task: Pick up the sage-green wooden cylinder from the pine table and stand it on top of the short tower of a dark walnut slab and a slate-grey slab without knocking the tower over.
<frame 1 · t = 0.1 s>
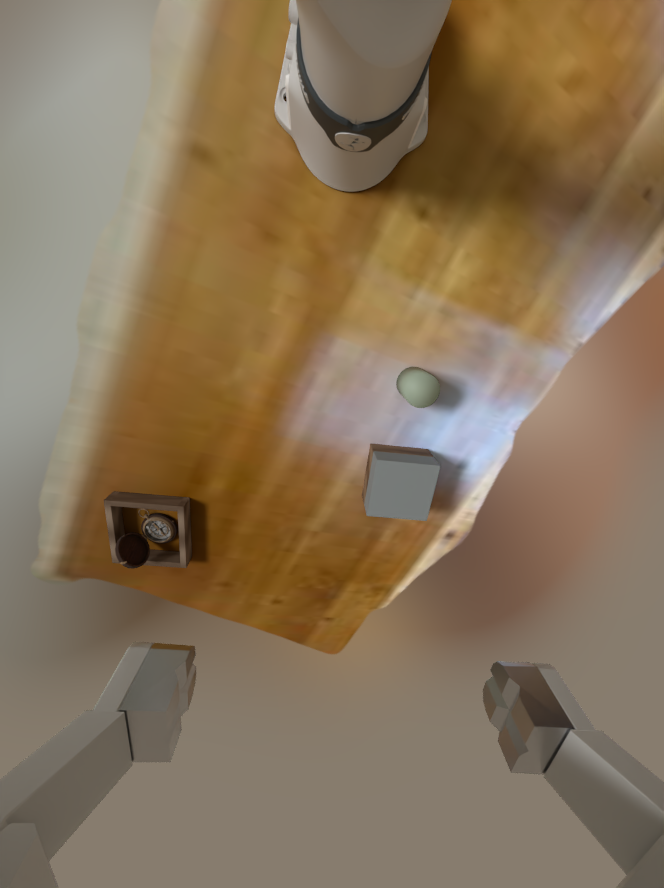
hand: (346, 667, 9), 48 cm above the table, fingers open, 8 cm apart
wooden frame: (154, 525, 63), on the table
green cylinder: (412, 382, 55), on the table
compass: (154, 524, 63), resting in wooden frame
walnut slab: (393, 471, 61), on the table, touching grey slab
grey slab: (398, 481, 58), point 3 cm above the table, touching walnut slab
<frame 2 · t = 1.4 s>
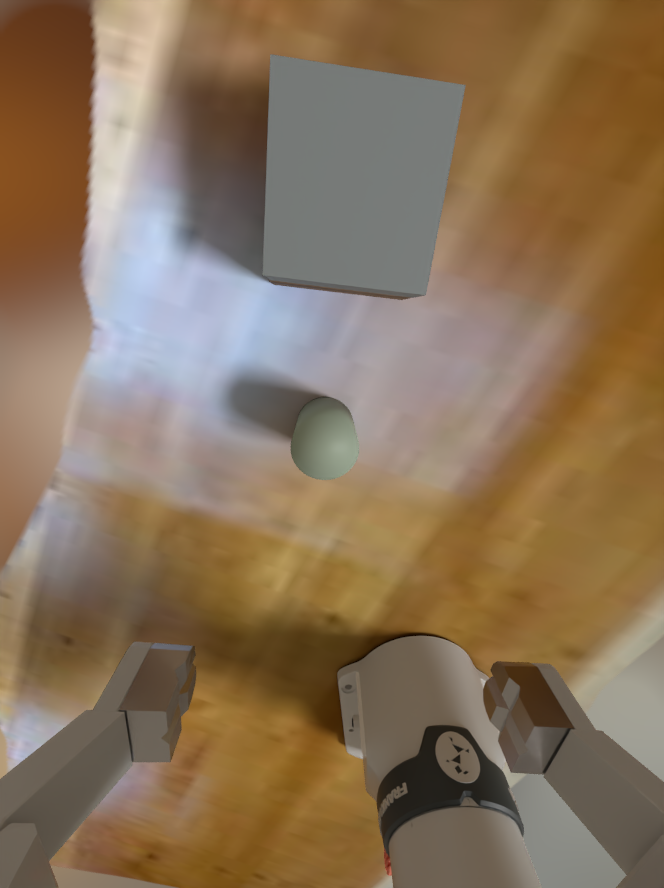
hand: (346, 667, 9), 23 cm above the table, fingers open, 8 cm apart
green cylinder: (325, 424, 31), on the table
walnut slab: (346, 220, 26), on the table, touching grey slab
grey slab: (351, 205, 23), point 3 cm above the table, touching walnut slab
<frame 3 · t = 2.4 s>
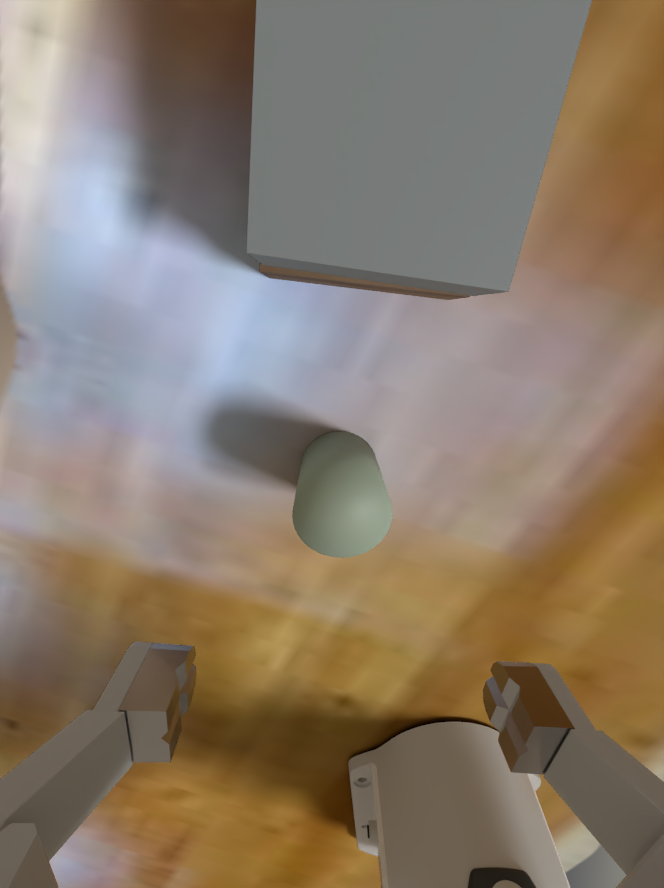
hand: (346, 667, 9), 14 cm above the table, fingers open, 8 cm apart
green cylinder: (339, 467, 23), on the table
walnut slab: (372, 184, 18), on the table, touching grey slab
grey slab: (389, 150, 14), point 3 cm above the table, touching walnut slab
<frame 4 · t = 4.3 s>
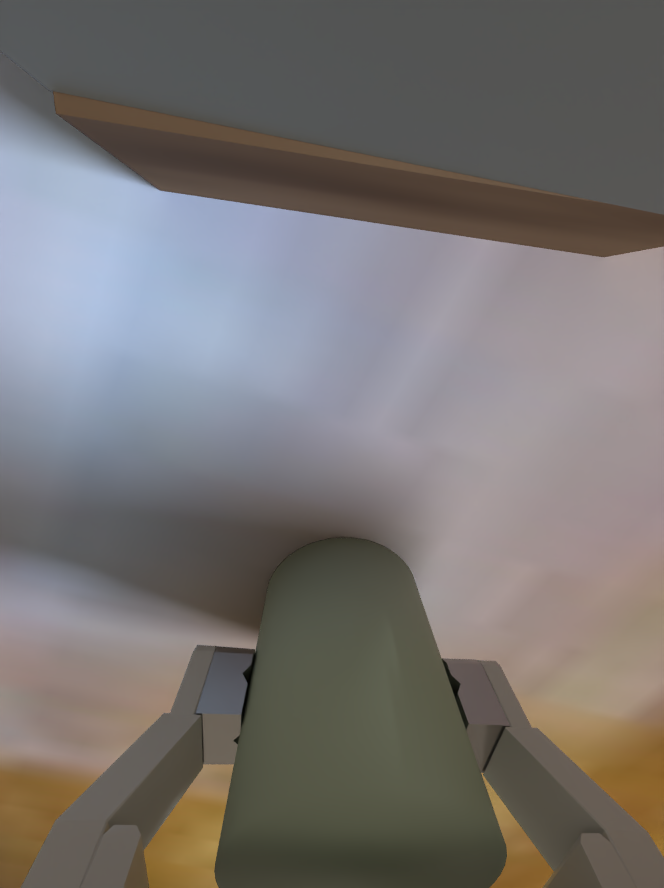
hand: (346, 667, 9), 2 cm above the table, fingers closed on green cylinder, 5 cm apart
green cylinder: (341, 599, 12), on the table, touching gripper
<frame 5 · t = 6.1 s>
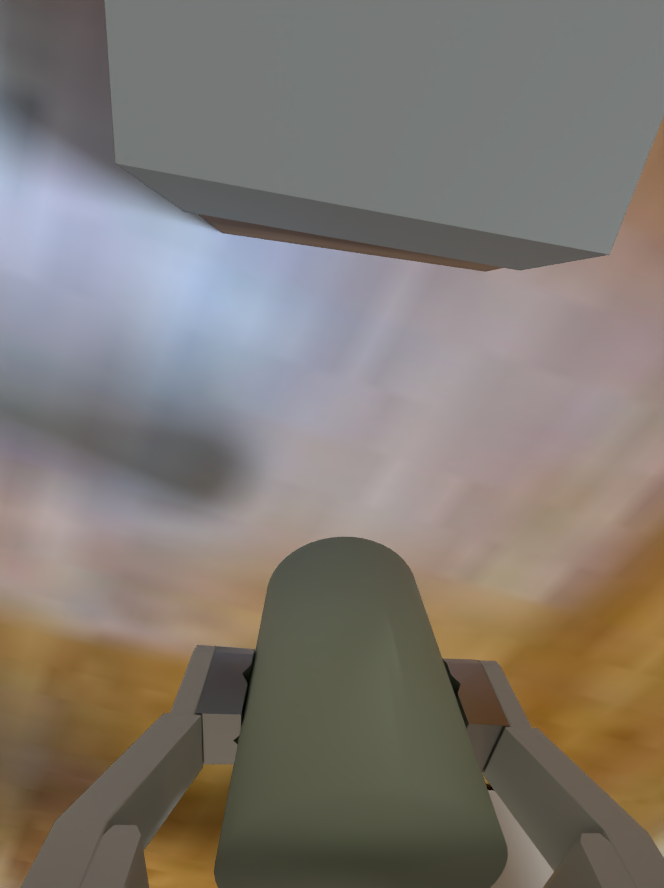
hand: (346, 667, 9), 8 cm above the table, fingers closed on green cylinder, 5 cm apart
green cylinder: (341, 599, 12), point 6 cm above the table, touching gripper
walnut slab: (379, 85, 11), on the table, touching grey slab
grey slab: (395, 6, 8), point 3 cm above the table, touching walnut slab
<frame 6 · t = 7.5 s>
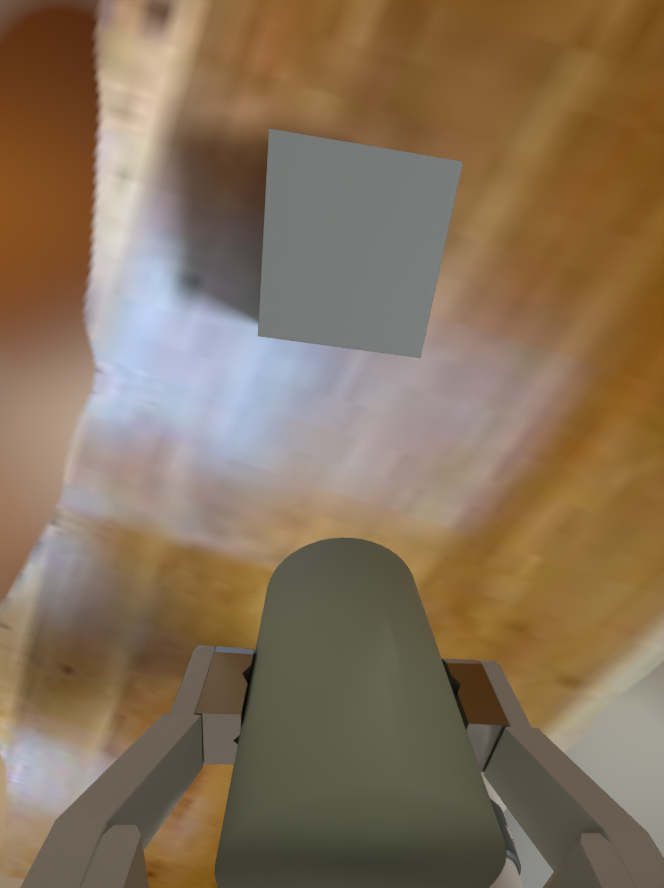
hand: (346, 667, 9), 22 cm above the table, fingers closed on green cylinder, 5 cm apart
green cylinder: (341, 599, 12), point 19 cm above the table, touching gripper
grey slab: (348, 263, 23), point 3 cm above the table, touching walnut slab
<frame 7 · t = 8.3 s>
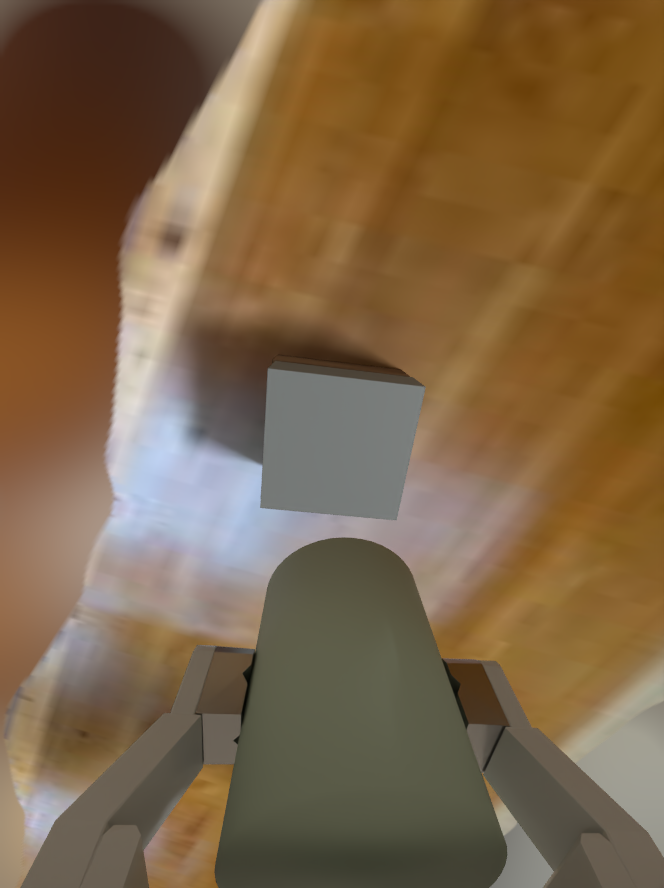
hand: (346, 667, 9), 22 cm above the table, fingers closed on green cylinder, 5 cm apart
green cylinder: (341, 599, 12), point 19 cm above the table, touching gripper
walnut slab: (332, 419, 30), on the table, touching grey slab
grey slab: (336, 434, 27), point 3 cm above the table, touching walnut slab
when the fingers open (11 cm above the table, at t = 11.7 s): green cylinder drops 2 cm, resting on grey slab.
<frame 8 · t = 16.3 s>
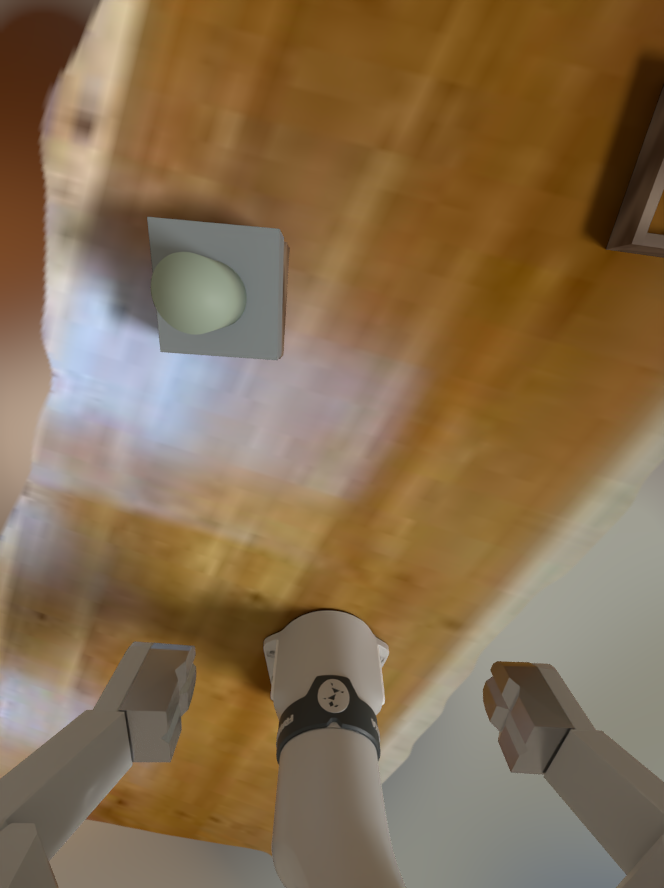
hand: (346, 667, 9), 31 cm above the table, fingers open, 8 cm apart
green cylinder: (215, 295, 28), point 7 cm above the table, touching grey slab
walnut slab: (236, 298, 35), on the table, touching grey slab
grey slab: (227, 295, 32), point 3 cm above the table, touching green cylinder, walnut slab
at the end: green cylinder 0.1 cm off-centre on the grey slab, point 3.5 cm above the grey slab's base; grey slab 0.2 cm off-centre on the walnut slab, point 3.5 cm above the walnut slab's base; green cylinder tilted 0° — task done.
